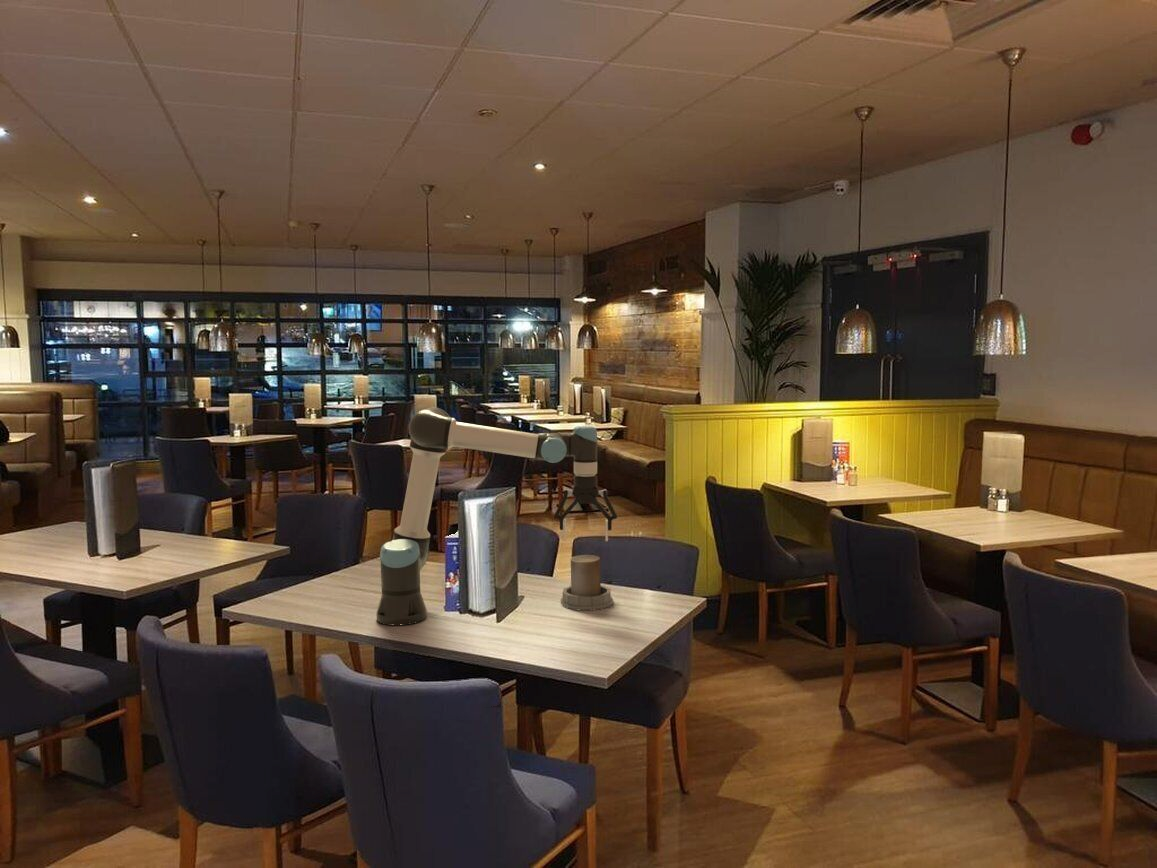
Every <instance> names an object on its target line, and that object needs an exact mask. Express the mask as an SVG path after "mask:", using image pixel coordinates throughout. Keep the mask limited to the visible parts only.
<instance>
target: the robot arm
mask: <svg viewBox="0 0 1157 868" xmlns="http://www.w3.org/2000/svg"><path fill="white" fill-rule="evenodd" d="M408 434H409V436H410V443H409V448H410V450H411V451H412V458H411V464H410V469H409V475H408V481H407V484H406V485H407V487H406V492H405V497H404V502H403V507H402V514H401V518H400V524H399V525H398V526H397V527H395V528H394V531H393V535H392V540H390V541H387V542H385V543H383V545H382V546H381V547H380V554H379V560H380V582H381V584H380V585H381V596H380V600H379V603H378V607H377V611H376V621H377V620H378V621H379V622H381V623H384V624H383V625H385V624H394V625H393V626H401V625H400V624H409V623H414V624H416V623H415V622H418V623H420V622H422V621H421V620H423V619H424V620H426V619H427V617H428V615H427V614H428V612H427V611H428V610H427V606H426V604H425V601H424V598H423V595H422V593H421V570H422V568H423V567H424V566H425V565H426V563H427V561H428V560H429V557H430V548H429V547H430V546H429V545H430V539H431V533H430V532H429V530H428V525H429V519H430V515H431V509H432V503H433V497H434V493H435V487H436V483H437V476H438V471H439V467H440V466H439V465H440V460H441V457H442V456H444V455H445V454H446V453H447V450H450V449H452V448H453V447H455V448H462V449H467V450H468V449H469V450H476V451H483V452H488V453H489V452H490V453H495V454H496V453H497V454H502V455H510V456H516V457H523V458H531V459H536V460H542V461H546V462H548V463H552V464H555V463H559V462H561V461H562V460H563V459H565V457H573V474H574V476H573V489H572V490H571V489H568V488H565V489H564V491H563V496H562V499H561V502H560V504H559V505H558V507H557V509H556V511H555V513H554V515H553V518H554V519H557V520H558V521H559V530H560V531H562V541H563V542H566V540H567V519H566V517H567V515H568V514H569V513H570V512H571V511H572V509H574V507H575V506H577V504H578V503H579V504H581V505H584V504H585V505H586V504H587V505H590V504H594V506H595V507H596V508H597V509H598V510H599V511H600V512H601V513H602V515H603V516H604V517H605V518H606V519H605V537H604V538H605V539H604V541H605V542H608V541H609V531H612V523H613V522H612V521H613V520H616V519H617V518H618V514H617V512H616V510H615V508H614V506H613V504H612V502H611V500H610V498H609V496H608V490H607V489H606V488H604V489H601V490H599V489H598V476H597V474H598V431H597V428H596V427H594V426H590V425H589V426H586V425H584V426H583V425H582V426H574V428H573V431H572V432H568V433H567V432H562V433H561V432H540V433H532V432H526V431H519V430H512V429H506V428H499V427H493V426H486V425H479V424H475V423H467V422H460V421H457V420H456V418H455V417H451V416H450V415H449V414H448V412H446V411H445V410H443V409H441V408H439V407H435V406H434V407H433V406H431V407H426V408H423V409H422V410H420V411H418V412H416V413H415V414H414V415H413V416H412V417H411V419H410V421H409V424H408ZM571 495H572V496H573V497H574V499H573V501H572V502H571V503H570V504H569V506H568V507H567V508H565V510H564V511H563V513H561V511H562V509H563V507H564V506H565V503H566V502H567V499H568V497H570V496H571ZM598 496H601V497H602V498H603V500H604V502H605V504H606V505H607V508H608V509H609V510H608V511H610V513H609V512H608V511H607V510H606V508H604V506H603V505H602V503H600V501H599V500H598V498H597V497H598ZM610 514H611V515H610ZM425 618H426V619H425ZM424 620H423V621H424ZM419 621H420V622H419ZM379 622H378V623H379ZM381 623H380V624H381ZM409 625H410V624H409Z"/></svg>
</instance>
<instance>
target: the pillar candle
mask: <svg viewBox="0 0 1157 868" xmlns="http://www.w3.org/2000/svg"><path fill="white" fill-rule="evenodd" d="M570 586H571V595H576V596H597V595H601V586H602V585H601V558H600V556H598V555H593V554H592V555H591V554H579V555H574V556H572V557H570Z"/></svg>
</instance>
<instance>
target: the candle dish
mask: <svg viewBox="0 0 1157 868" xmlns="http://www.w3.org/2000/svg"><path fill="white" fill-rule="evenodd" d="M611 590H612V589H611V588H610V587H607V586H605V585H601V595H597V596H576V595H571V585H569V586H568V587H567V586H566V587H565V588H563V590H562V597H561V598H560V605H561V604H562V605H563V606H565V607H564V608H566V607H568V608H567V609H569V608H572V609H571V610H573V609H580V610H579V611H585V610H587V611H594V610H593V609H599V610H602V609H601V608H604V609H606V608H605V607H607V608H609V607H608V606H610V605H611V606H612V605H614V599H613V597H612V595H611V594H612V593H611ZM562 605H561V606H562ZM563 606H562V607H563ZM611 606H610V607H611ZM591 609H592V610H591Z"/></svg>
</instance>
